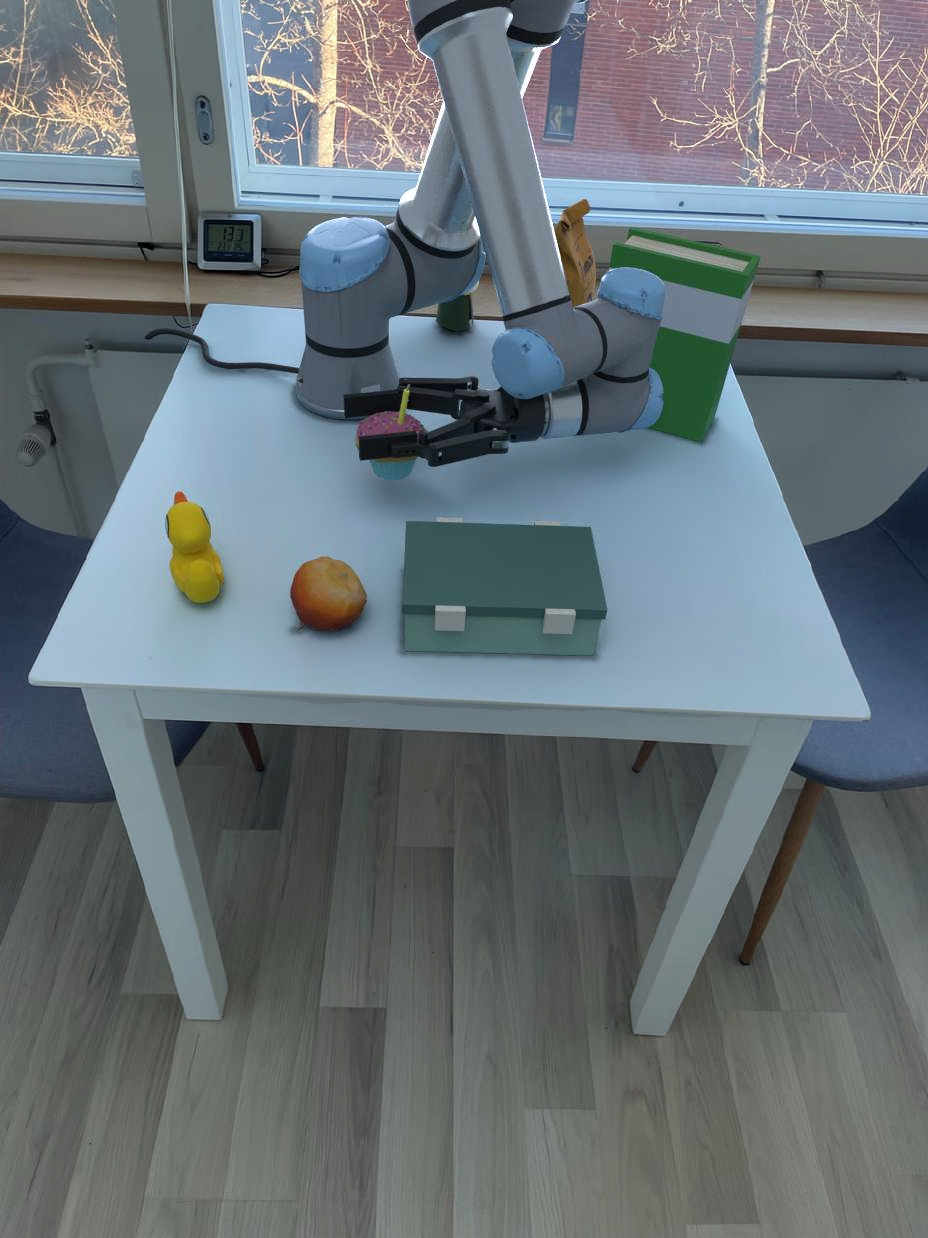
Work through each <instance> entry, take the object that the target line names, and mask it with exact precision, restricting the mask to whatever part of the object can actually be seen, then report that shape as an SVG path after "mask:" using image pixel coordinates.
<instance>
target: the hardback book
mask: <svg viewBox="0 0 928 1238" xmlns="http://www.w3.org/2000/svg"><path fill="white" fill-rule="evenodd" d="M761 256H762V255H758V254H754V253H750V252H744V251H740V250H737V249H731V248H727V247H722V246H719V245H714V244H709V243H705V242H700V241H696V240H692V239H688V238H683V237H678V236H673V235H669V234H666V233H660V232H657V231H656V232H655V231H652V230H647V229H643V228H639V227H633V226H630V227H629V228H628V232H627V238H626V241H625V242H624V243H620V242H616V241H615V242H614V243H613V244H612V249H611V254H610V260H609V266H608V271H610V270H612V269H616V268H636V269H642V270H645V271H648V272H650V273H652V274H654V275H656V276H657V277H659V278H660V279H661V280H662V282H663V283H664V285H665V291H666V292H665V298H664V304H663V310H662V315H663V316H662V320H661V322H660V326H659V330H658V335H657V339H656V343H655V347H654V351H653V355H652V359H651V363H650V367H649V368H652V369H654V370H655V371H656V372H657V373H658V375H659V377H660V379H661V381H662V385H663V392H664V393H663V395H662V400H663V408H662V412H661V414H660V416H659V418H658V420H657V421H656V422H655V423H654V424H653V425H651V426H649V427H648V428H649V429H654V430H656V431H659V432H664V433H667V434H671V435H674V436H677V437H681V438H684V439H688V440H691V441H695V442H697V443H702V442H703V440H704V439H705V437H706V435H707V433H708V431H709V429H710V428H711V426H712V424H713V422H714V421H715V417H716V414H717V412H718V407H719V405H720V400H721V398H722V394H723V390H724V387H725V383H726V379H727V376H728V373H729V370H730V366H731V362H732V358H733V354H734V352H735V348H736V344H737V341H738V337H739V335H740V330H741V327H742V324H743V320H744V316H745V314H746V310H747V306H748V302H749V299H750V295H751V291H752V288H753V284H754V281H755V278H756V274H757V270H758V267H759V263H760V260H761V258H762V257H761Z"/></svg>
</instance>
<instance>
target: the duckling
mask: <svg viewBox="0 0 928 1238" xmlns="http://www.w3.org/2000/svg"><path fill="white" fill-rule="evenodd" d="M164 529H165V533H166V536H167V538H168V542H169V543H170V545H171V546H172V549H171V550H172V551H171V553H172V554H171V556H172V558H171V559H170V561H169V570H170V571H169V572H170V575H171V577H172V580H173V581H174V583H175V585H176V587H177V588H178V590H179V591H180V592H182V593H185V596H186V597H187V598H188V599H189V600H190V601H192V602H193V603H196V604H205V603H208V602H212V601H213V600H215V599H216V598H217V597H218V596H219V594H220V589H221V586H222V585H224V584H225V574H224V568H223V565H222V562H221V558H220V556H219V554H218V552H217V551H216V550H214V547H213V545H212V544H211V542H210V541H211V538H212V527H211V521H210V518H209V516H208V514H207V512H206V510H205V509H204V508H203V507H202V506H201V505H199V504H198V503H195V502H192V501H189V500H188V499H187V497H186V495H185V493H184V492H183V491H181V490H179V491H176V492H175V494H174V497H173V505H172V506H171V507H169V509H168V511H167V513H166V515H165V519H164Z"/></svg>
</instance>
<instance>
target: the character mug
mask: <svg viewBox="0 0 928 1238" xmlns="http://www.w3.org/2000/svg"><path fill="white" fill-rule="evenodd" d="M479 284H480V279H479V280H478V282H477V283H476V285H475V286H474V287H473V288H472V289H471V290H470V291H468V292H467V293H465V294H463V295H460V296H459V297H457V298H455V299H453V300H451V301H448V302H442V303H439V304H437V310H436V318H435V322H436V323H437V324H438V325H439V326H441V327H444V328H445V329H448V330H450V331H460V332H461V331H466V330H469V329H470V321H471V327H472V326H474V301H473V295H472V293H473V292H475V291H477V290H478V287H479Z"/></svg>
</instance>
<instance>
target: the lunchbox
mask: <svg viewBox="0 0 928 1238" xmlns="http://www.w3.org/2000/svg"><path fill="white" fill-rule="evenodd" d="M404 537H405V538H404V559H403V579H402V580H403V581H402V582H403V583H402V603H401V605H402V606H401V609H402V610H401V613H402V615H404V651H405V652H433V653H434V652H437V653H441V652H442V653H474V654H515V655H550V656H551V655H553V656H587V657H588V656H591V657H592V656H593V657H594V654H595V649H596V646H597V641H598V637H599V632H600V628H601V623H602V621H603V620H606V618H607V613H608V605H607V600H606V596H605V591H604V586H603V581H602V576H601V575H602V574H601V570H600V566H599V560H598V556H597V551H596V546H595V540H594V536H593V530H592V527H591V526H580V525H579V526H578V525H577V526H576V525H562V521H558V520H534V521H533V524H517V523H516V524H515V523H514V524H513V523H486V522H483V523H482V522H464V518H463V517H442V516H441V517H440V516H438V517H437V516H436V517H435V521H428V520H406V521H405V536H404Z"/></svg>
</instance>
